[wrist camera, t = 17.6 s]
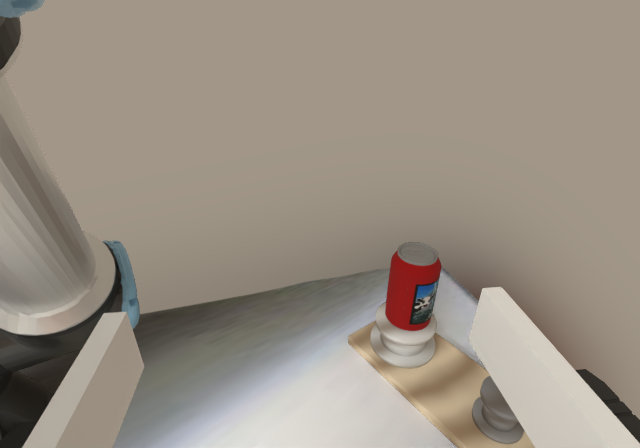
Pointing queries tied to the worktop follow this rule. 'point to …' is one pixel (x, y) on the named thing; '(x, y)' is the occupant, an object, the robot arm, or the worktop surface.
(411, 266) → the beverage can
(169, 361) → the worktop surface
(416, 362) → the wooden knob board
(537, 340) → the robot arm
